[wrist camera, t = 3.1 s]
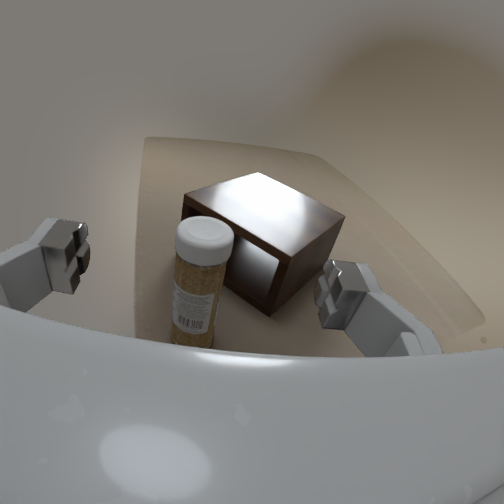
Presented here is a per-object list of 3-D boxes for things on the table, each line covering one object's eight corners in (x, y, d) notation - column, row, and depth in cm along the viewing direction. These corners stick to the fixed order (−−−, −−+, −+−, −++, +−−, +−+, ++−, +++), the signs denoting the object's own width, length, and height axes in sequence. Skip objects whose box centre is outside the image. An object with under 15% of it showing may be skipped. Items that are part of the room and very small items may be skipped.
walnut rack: (269, 317, 36) (291, 257, 31) (177, 251, 42) (183, 193, 37) (325, 264, 47) (345, 216, 42) (246, 219, 54) (258, 172, 49)
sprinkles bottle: (220, 334, 32) (245, 228, 25) (198, 362, 29) (216, 254, 21) (185, 314, 33) (197, 208, 26) (161, 340, 30) (164, 229, 22)
